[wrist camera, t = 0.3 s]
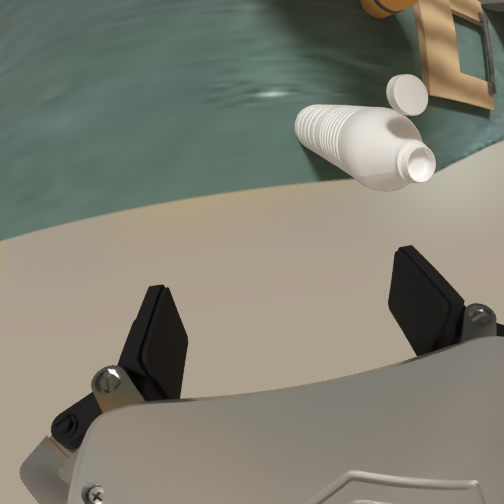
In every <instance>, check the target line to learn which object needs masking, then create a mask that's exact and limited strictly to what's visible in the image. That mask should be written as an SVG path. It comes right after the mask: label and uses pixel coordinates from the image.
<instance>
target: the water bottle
mask: <svg viewBox="0 0 504 504" xmlns="http://www.w3.org/2000/svg"><path fill="white" fill-rule="evenodd" d="M386 94H387V99H388V101H389V103H390V105H391V107H392V108H393V109H394V110H393V109H389V108H384V107H366V106H350V105H311V106H308V107H306V108H304V109H303V110H302V111H301V112H300V113H299V114H298V116H297V118H296V121H295V133H296V136H297V138H298V140H299V141H300V142H301V143H302V144H303V145H304V146H305V147H307V148H308V149H310V150H312V151H313V152H315V153H317V154H318V155H320V156H321V157H323V158H324V159H326V160H328V161H329V162H330V163H332V164H334V165H336V166H337V167H339V168H340V169H342V170H343V171H345V172H346V173H348V174H349V175H351V176H352V177H354V178H355V179H356V180H357V181H358V182H360V183H361V184H363V185H364V186H366V187H369V188H371V189H374V190H378V191H394V190H398V189H401V188H403V187H405V186H406V185H408V184H409V183H410V182H411V183H416V182H417V183H422V182H426V181H427V180H429V179H430V178H431V176H432V175H433V173H434V171H435V166H436V161H435V157H434V155H433V153H432V151H431V150H430V149H429V148H427V146H426V145H425V144H424V143H423V142H422V139H421V136H420V133H419V131H418V129H417V128H416V127H415V125H414V124H413V123H412V122H411V121H410V120H409V119H408V118H407V117H406V116H404V115H411V116H414V115H415V116H416V115H419V114H421V113H422V112H423V111H424V110H425V109H426V107H427V104H428V93H427V90H426V87H425V85H424V84H423V82H422V81H421V80H420V79H419V78H417V77H415V76H413V75H409V74H405V75H397V76H394V77H393V78H391V79H390V81H389V82H388V84H387V89H386ZM403 114H404V115H403Z"/></svg>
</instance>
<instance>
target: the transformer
mask: <svg viewBox="0 0 504 504" xmlns="http://www.w3.org/2000/svg"><path fill="white" fill-rule="evenodd" d="M479 2H480V3H481V6H482V7H483V8H484V9H486V10H491V11H496V12H504V0H479Z"/></svg>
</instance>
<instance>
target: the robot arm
mask: <svg viewBox="0 0 504 504" xmlns="http://www.w3.org/2000/svg"><path fill="white" fill-rule="evenodd" d="M388 306H389V309H390V311H391V313H392V314H393V316H394V318H395V319H396V321H397V323H398V324H399V326H400V328H401V329H402V331H403V333H404V334H405V336H406V338H407V339H408V341H409V343H410V345H411V346H412V348H413V350H414V352H415V353H416V355H417V357H415V358H411V359H408V360H405V361H402V362H398V363H395V364H392V365H388V366H385V367H381V368H378V369H374V370H370V371H366V372H362V373H358V374H354V375H349V376H345V377H341V378H337V379H332V380H327V381H322V382H317V383H312V384H306V385H301V386H295V387H289V388H282V389H276V390H269V391H262V392H255V393H245V394H237V395H226V396H214V397H203V398H202V397H201V398H187V399H180V394H181V387H182V380H183V373H184V366H185V359H186V353H187V347H188V337H187V334H186V331H185V329H184V326H183V324H182V321H181V319H180V316H179V314H178V311H177V308H176V306H175V303H174V300H173V298H172V295H171V292H170V290H169V288H168V287H167V288H165V287H164V285H155V286H150V287H149V288H148V290H147V293H146V295H145V298H144V300H143V303H142V305H141V308H140V310H139V313H138V315H137V318H136V320H134V322H133V324H132V327H131V329H130V332H129V335H128V337H127V340H126V343H125V345H124V348H123V351H122V354H121V356H120V359H119V362H118V365H117V366H114V365H112V366H107V367H105V368H103V369H101V370H100V371H98V372H97V373H96V375H95V376H94V377H93V379H92V382H91V387H92V391H93V392H92V393H90V394H89V395H87V396H86V397H84V398H83V399H81V400H80V401H79V402H77V403H75V404H74V405H72V406H71V407H70V408H68V409H66V410H65V411H64V412H62V413H60V414H59V415H58V416H57V417H56V418H55V419H54V421H53V423H52V426H51V433H52V435H51V437H50V438H49V437H48V436H46V437H45V438H44V439H43V440H42V441H41V443H40V444H39V445H38V446H37V447H36V449H34V451H33V452H32V453H31V454H30V455H29V456H28V458H27V459H26V460H25V461H24V462H23V464H22V465H21V467H20V478H21V480H22V482H23V483H24V485H25V486H26V487H27V489H28V490H29V491H30V493H31V494H32V495H33V497H34V498H35V499H36V500H37V502H38V503H39V504H504V325H501V324H498V323H496V315H495V314H494V312H493V311H492V310H491V309H490V308H489V307H487V306H485V305H483V304H478V303H475V304H471V305H468V306H467V308H466V307H465V305H464V300H463V298H462V297H461V296H460V295H459V294H458V293H457V292H456V291H455V289H454V288H453V287H452V286H451V285H450V284H449V283H448V282H447V281H446V280H445V278H444V277H443V276H442V275H441V274H440V273H439V272H438V271H437V270H436V269H435V268H434V267H433V266H432V265H431V264H430V263H429V262H428V261H427V260H426V259H425V258H424V257H423V256H422V255H421V254H420V253H419V252H418V251H417V250H416V249H415V248H414V247H413V246H412V245H409V246H404V247H400V248H399V249H398V251H396V252H395V255H394V264H393V272H392V280H391V287H390V294H389V300H388Z"/></svg>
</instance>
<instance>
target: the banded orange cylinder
mask: <svg viewBox="0 0 504 504" xmlns="http://www.w3.org/2000/svg"><path fill="white" fill-rule="evenodd" d="M416 2H417V0H361V5H362V7H363V9H364V10H365V11H366V12H367V13H368V14H369V15H371V16H372V17H375V18H378V19H383V18H386V17H388V16H390V15H392V14H394V13H398V12H401V11H403V10H404V9H406V8H408V7H411V6H413V5H415V4H416Z"/></svg>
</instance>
